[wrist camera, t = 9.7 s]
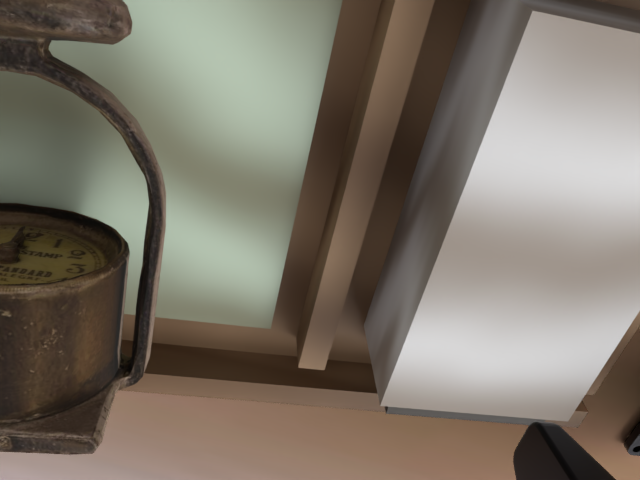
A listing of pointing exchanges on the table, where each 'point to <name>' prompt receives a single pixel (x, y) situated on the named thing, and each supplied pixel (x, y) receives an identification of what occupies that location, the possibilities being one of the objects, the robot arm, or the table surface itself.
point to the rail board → (363, 196)
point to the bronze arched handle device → (70, 258)
